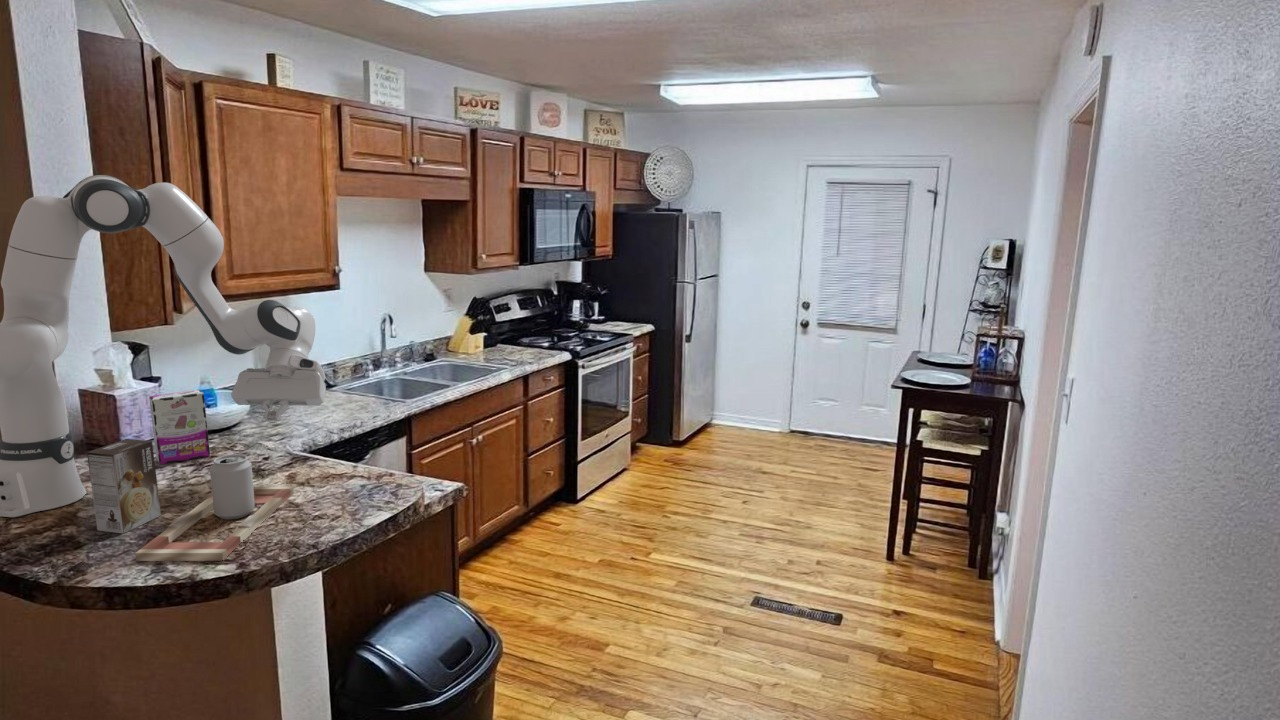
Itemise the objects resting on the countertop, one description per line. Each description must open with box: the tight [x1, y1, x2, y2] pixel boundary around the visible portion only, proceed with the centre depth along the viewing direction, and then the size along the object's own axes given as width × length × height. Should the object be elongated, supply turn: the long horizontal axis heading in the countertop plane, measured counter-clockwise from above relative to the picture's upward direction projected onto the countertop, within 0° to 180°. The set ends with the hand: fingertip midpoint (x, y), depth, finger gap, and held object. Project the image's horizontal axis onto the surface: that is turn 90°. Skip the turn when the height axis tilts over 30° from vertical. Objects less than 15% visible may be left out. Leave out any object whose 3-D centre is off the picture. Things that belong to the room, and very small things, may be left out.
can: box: [209, 453, 256, 520], centre depth 156 cm, size 8×8×12 cm
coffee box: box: [86, 438, 162, 534], centre depth 150 cm, size 9×6×16 cm
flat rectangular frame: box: [134, 486, 295, 562], centre depth 153 cm, size 15×33×2 cm, turn 4°
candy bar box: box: [148, 389, 211, 465], centre depth 188 cm, size 11×5×16 cm, turn 131°
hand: (271, 419), depth 175 cm, fingers closed
